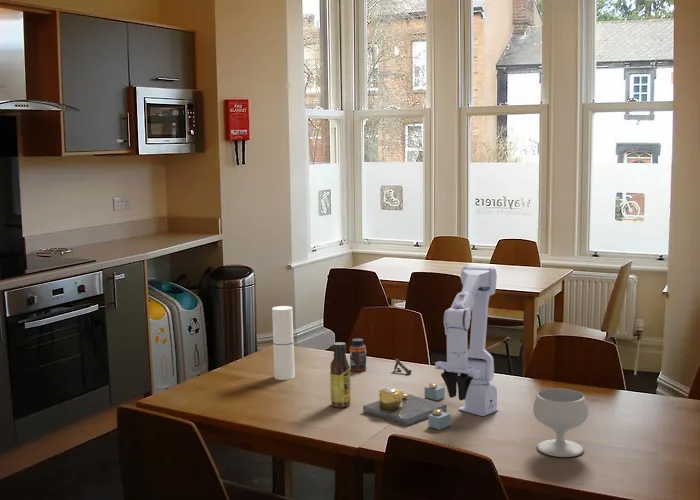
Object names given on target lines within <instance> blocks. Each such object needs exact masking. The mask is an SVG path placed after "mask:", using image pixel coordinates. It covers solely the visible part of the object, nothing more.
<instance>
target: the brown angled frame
mask: <svg viewBox="0 0 700 500" xmlns="http://www.w3.org/2000/svg"><path fill="white" fill-rule="evenodd" d="M398 366H399V367H398ZM393 369H394V370H396V371H397V372H398V373H399V372H400V373H402V370H403V371H404V372H405V373H406V375H410V374H411V373H412V369H410V368H409V369H408V368H407V367H406V366H405V365H404V364H403V363H402V362H401V360H400V359H398V358H395V365H394V368H393ZM411 375H412V374H411Z"/></svg>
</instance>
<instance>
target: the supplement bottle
mask: <svg viewBox="0 0 700 500" xmlns="http://www.w3.org/2000/svg"><path fill="white" fill-rule="evenodd" d="M351 343H352V344H351V345H349V362H350V363H349V367H350V371H352V372H359V373H360V372H364V371H366V370H367V346H366V345H365V344H364V339H363V338H353V339H352V340H351Z"/></svg>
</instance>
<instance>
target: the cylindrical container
mask: <svg viewBox="0 0 700 500" xmlns="http://www.w3.org/2000/svg"><path fill="white" fill-rule="evenodd" d="M293 315H294V314H293V306H291V305H290V306H289V305H278V306H273V307H272V308H271V317H272V341H273V344H272V346H273V365H274V366H273V370H274V371H273V372H274V379H275V380H279V381H287V380H292V379H294V378H295V377H296V375H295V371H296V370H295V348H294V346H295V345H294V343H295V342H294V319H293V318H294V316H293Z"/></svg>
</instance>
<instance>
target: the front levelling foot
mask: <svg viewBox="0 0 700 500" xmlns="http://www.w3.org/2000/svg"><path fill="white" fill-rule="evenodd" d="M445 392H446V390H445V387H444V386H442V385H441V386H440V385H438V384H437V383H434V382H433V383H429V384H428V385H427V386H424V398H425V399H428V400H432V401H439V400H442V399H444V398H445Z"/></svg>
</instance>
